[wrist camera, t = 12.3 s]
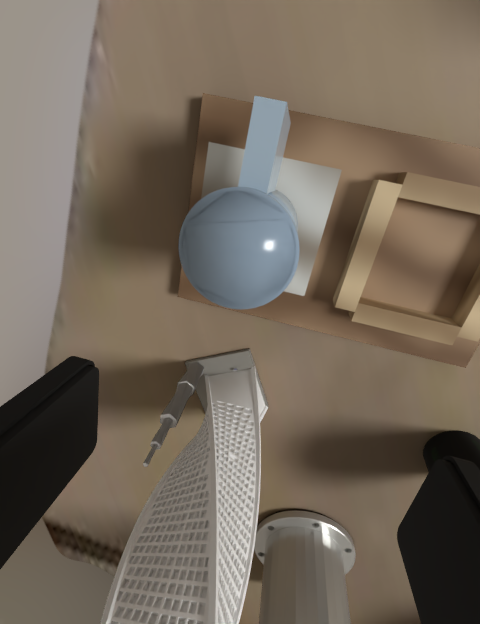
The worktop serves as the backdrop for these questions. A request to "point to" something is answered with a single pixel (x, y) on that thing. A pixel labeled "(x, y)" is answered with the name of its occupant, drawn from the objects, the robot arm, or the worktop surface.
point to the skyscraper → (198, 506)
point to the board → (353, 221)
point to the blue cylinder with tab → (246, 223)
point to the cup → (452, 447)
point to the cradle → (373, 222)
